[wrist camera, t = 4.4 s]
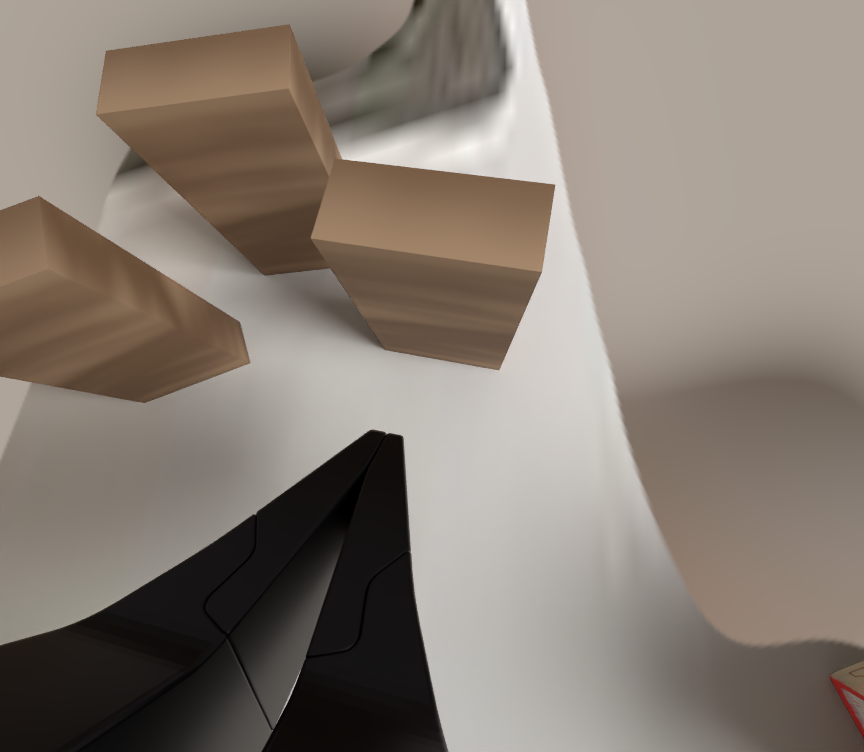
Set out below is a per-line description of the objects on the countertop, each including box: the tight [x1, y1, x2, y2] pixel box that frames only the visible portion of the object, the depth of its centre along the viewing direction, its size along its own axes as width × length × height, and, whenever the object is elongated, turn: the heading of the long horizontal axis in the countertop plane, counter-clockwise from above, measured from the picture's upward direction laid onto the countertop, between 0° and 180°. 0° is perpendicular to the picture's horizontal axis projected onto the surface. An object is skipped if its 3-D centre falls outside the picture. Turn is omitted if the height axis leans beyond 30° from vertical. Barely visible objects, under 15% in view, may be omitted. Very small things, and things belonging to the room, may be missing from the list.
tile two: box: [0, 196, 250, 403], centre depth 15 cm, size 3×6×10 cm, turn 111°
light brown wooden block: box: [96, 25, 342, 275], centre depth 16 cm, size 3×6×10 cm, turn 95°
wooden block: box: [311, 159, 555, 370], centre depth 14 cm, size 3×6×10 cm, turn 79°
